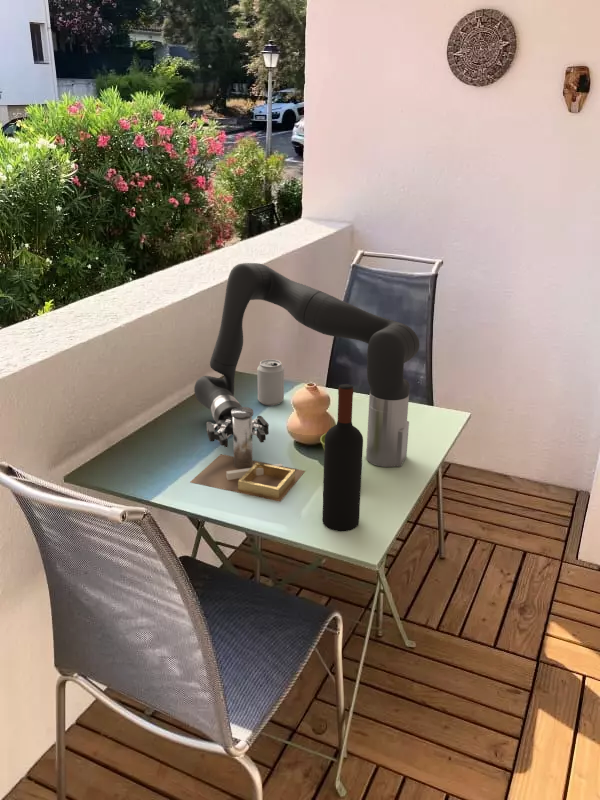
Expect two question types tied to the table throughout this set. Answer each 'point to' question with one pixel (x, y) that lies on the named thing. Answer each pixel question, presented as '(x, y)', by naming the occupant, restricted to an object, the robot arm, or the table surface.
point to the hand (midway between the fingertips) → (244, 441)
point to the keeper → (267, 490)
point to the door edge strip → (241, 472)
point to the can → (270, 382)
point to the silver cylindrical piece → (242, 437)
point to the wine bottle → (342, 468)
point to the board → (217, 478)
